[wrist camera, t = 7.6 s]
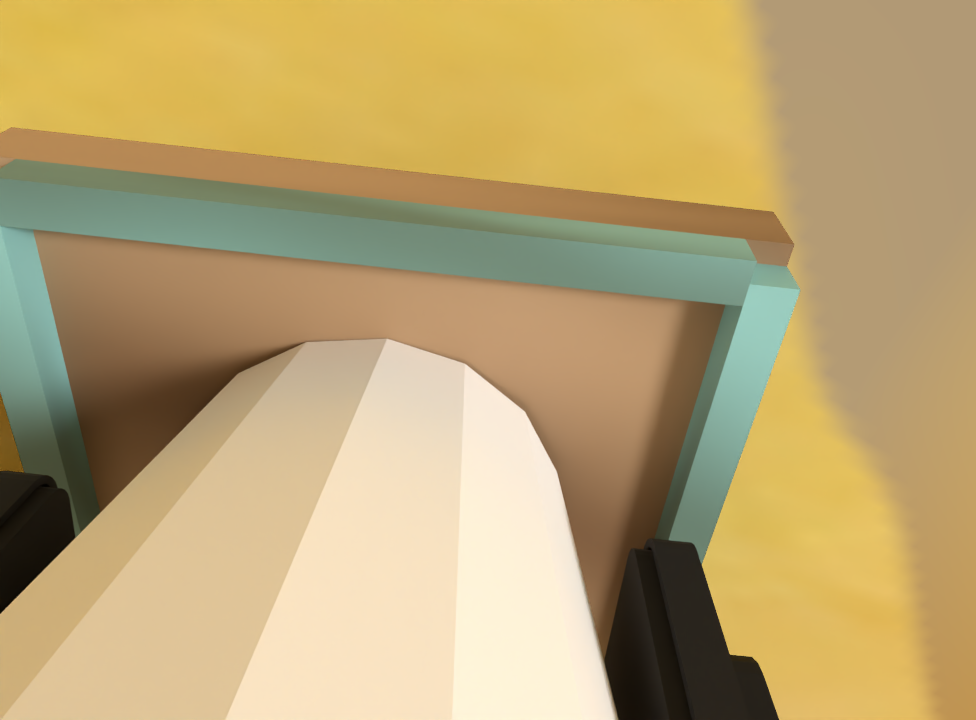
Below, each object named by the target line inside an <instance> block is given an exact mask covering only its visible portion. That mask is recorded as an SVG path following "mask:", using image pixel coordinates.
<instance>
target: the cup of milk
mask: <svg viewBox="0 0 976 720" xmlns="http://www.w3.org/2000/svg"><path fill="white" fill-rule="evenodd" d="M0 720H618V716H617V712H616V708H615V704H614V700H613V696H612V692H611V687H610V683H609V679H608V675H607V671H606V667H605V663H604V659H603V655H602V651H601V647H600V643H599V639H598V635H597V631H596V627H595V623H594V619H593V615H592V611H591V607H590V603H589V599H588V595H587V591H586V587H585V583H584V579H583V575H582V571H581V567H580V563H579V559H578V555H577V551H576V547H575V543H574V539H573V535H572V531H571V527H570V523H569V519H568V514H567V510H566V506H565V502H564V498H563V494H562V490H561V486H560V482H559V478H558V474H557V471H556V469H555V467H554V465H553V464H552V462H551V460H550V458H549V456H548V454H547V452H546V450H545V449H544V447H543V445H542V443H541V441H540V439H539V437H538V435H537V433H536V432H535V430H534V428H533V426H532V424H531V422H530V420H529V418H528V417H527V415H526V413H525V411H524V410H522V409H521V408H520V407H519V406H517V405H516V404H515V403H514V402H512V401H511V400H510V399H509V398H507V397H506V396H505V395H504V394H502V393H501V392H500V391H499V390H497V389H496V388H495V387H494V386H492V385H491V384H490V383H489V382H487V381H486V380H485V379H484V378H482V377H481V376H480V375H479V374H477V373H476V372H475V371H474V370H472V369H471V368H470V367H469V366H467V365H466V364H465V363H461V362H458V361H455V360H452V359H449V358H446V357H443V356H440V355H437V354H434V353H430V352H427V351H424V350H421V349H418V348H415V347H412V346H409V345H406V344H403V343H399V342H396V341H393V340H390V339H366V340H343V341H320V342H305V343H303V344H301V345H299V346H297V347H295V348H292V349H290V350H288V351H286V352H284V353H281V354H279V355H277V356H275V357H273V358H270V359H268V360H266V361H264V362H262V363H260V364H257V365H255V366H253V367H251V368H249V369H246V370H244V371H242V372H240V373H238V374H237V375H236V376H235V377H234V378H233V379H232V380H231V381H230V382H229V383H228V384H227V385H226V386H225V387H224V388H223V389H222V390H221V391H220V392H219V393H218V394H217V395H216V396H215V397H214V398H213V399H212V400H211V401H210V402H209V403H208V404H207V405H206V407H205V408H204V409H203V410H202V411H201V412H200V413H199V414H198V415H197V416H196V417H195V418H194V419H193V420H192V421H191V422H190V423H189V424H188V425H187V426H186V427H185V428H184V429H183V430H182V431H181V432H180V433H179V434H178V435H177V436H176V437H175V438H174V439H173V440H172V441H171V442H170V443H169V444H168V445H167V446H166V447H165V448H164V449H163V450H162V451H161V452H160V453H159V454H158V455H157V456H156V457H155V458H154V459H153V460H152V461H151V462H150V463H149V464H148V465H147V466H146V467H145V468H144V469H143V470H142V471H141V472H140V473H139V474H138V475H137V476H136V477H135V478H134V479H133V480H132V481H131V482H130V483H129V484H128V485H127V486H126V487H125V488H124V489H123V490H122V491H121V492H120V493H119V494H118V495H117V496H116V498H115V499H114V500H113V501H112V502H111V503H110V504H109V505H108V506H107V507H106V508H105V509H104V510H103V511H102V512H101V513H100V514H99V515H98V516H97V517H96V518H95V519H94V520H93V521H92V522H91V523H90V524H89V525H88V526H87V527H86V528H85V529H84V530H83V531H82V532H81V533H80V534H79V535H78V536H77V537H76V538H75V539H74V540H73V541H72V542H71V543H70V544H69V545H68V546H67V547H66V548H65V549H64V550H63V551H62V552H61V553H60V554H59V555H58V556H57V557H56V558H55V559H54V560H53V561H52V562H51V563H50V564H49V565H48V566H47V567H46V568H45V569H44V570H43V571H42V572H41V573H40V574H39V575H38V576H37V577H36V578H35V579H34V580H33V581H32V582H31V583H30V584H29V585H28V586H27V587H26V589H25V590H24V591H23V592H22V593H21V594H20V595H19V596H18V597H17V598H16V599H15V600H14V601H13V602H12V603H11V604H10V605H9V606H8V607H7V608H6V609H5V610H4V611H3V612H2V613H1V614H0Z"/></svg>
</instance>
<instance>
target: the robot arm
mask: <svg viewBox="0 0 976 720" xmlns="http://www.w3.org/2000/svg"><path fill="white" fill-rule="evenodd" d="M74 539H75V531H74V524H73V518H72V511H71V505H70V499H69V495H68V493H67V491H66V490H65V489H62V488H57V484H56V482H55V480H54V479H53V478H52V477H51V476H48V475H41V474H32V473H22V472H13V471H0V614H1V613H2V612H3V611H4V610H5V609H6V608H7V607H8V606H9V605H10V604H11V603H12V602H13V601H14V600H15V599H16V598H17V597H18V596H19V595H20V594H21V593H22V592H23V591H24V590H25V589H26V587H27V586H28V585H29V584H30V583H31V582H32V581H33V580H34V579H35V578H36V577H37V576H38V575H39V574H40V573H41V572H42V571H43V570H44V569H45V568H46V567H47V566H48V565H49V564H50V563H51V562H52V561H53V560H54V559H55V558H56V557H57V556H58V555H59V554H60V553H61V552H62V551H63V550H64V549H65V548H66V547H67V546H68V545H69V544H70V543H71V542H72V541H73V540H74ZM604 663H605V667H606V671H607V675H608V679H609V683H610V687H611V692H612V696H613V700H614V704H615V708H616V712H617V716H618V720H779V718H778V715H777V712H776V710H775V707H774V704H773V701H772V698H771V695H770V693H769V690H768V687H767V684H766V681H765V678H764V676H763V673H762V671H761V669H760V667H759V665H758V663H757V662H756V661H755V660H754V659H753V658H752V657H746V656H736V655H730V654H729V651H728V648H727V645H726V642H725V638H724V635H723V632H722V629H721V626H720V622H719V619H718V616H717V613H716V610H715V606H714V603H713V600H712V597H711V594H710V590H709V587H708V584H707V581H706V578H705V574H704V571H703V568H702V565H701V562H700V559H699V555H698V552H697V549H696V547H695V545H694V544H693V543H690V542H681V541H671V540H662V539H652V538H649V539H647V541H646V543H645V546H644V549H637V548H632V549H631V550H630V552H629V555H628V558H627V563H626V567H625V571H624V576H623V580H622V585H621V589H620V593H619V598H618V602H617V606H616V611H615V615H614V620H613V624H612V628H611V633H610V637H609V642H608V646H607V650H606V655H605V659H604Z"/></svg>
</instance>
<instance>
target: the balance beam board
mask: <svg viewBox="0 0 976 720" xmlns="http://www.w3.org/2000/svg"><path fill="white" fill-rule="evenodd" d="M793 247H794V243H793V242H792V240H791V239H790V237H789V235H788V234H787V232H786V231H785V229H784V228H783V226H782V225H781V223H780V221H779V220H778V218H777V217H776V215H775V214H774V212H770V211H761V210H752V209H743V208H734V207H725V206H716V205H707V204H698V203H689V202H680V201H671V200H662V199H653V198H644V197H635V196H626V195H617V194H608V193H599V192H590V191H581V190H572V189H563V188H554V187H545V186H536V185H527V184H517V183H508V182H499V181H490V180H481V179H472V178H463V177H454V176H445V175H436V174H427V173H418V172H409V171H400V170H391V169H382V168H373V167H364V166H355V165H346V164H337V163H328V162H319V161H310V160H301V159H292V158H283V157H274V156H265V155H256V154H247V153H238V152H229V151H220V150H210V149H201V148H192V147H183V146H174V145H165V144H156V143H147V142H138V141H129V140H120V139H111V138H102V137H93V136H84V135H75V134H66V133H57V132H48V131H39V130H30V129H21V128H12V127H11V128H9V129H7V130H6V131H4V132H2V133H0V393H1V396H2V399H3V403H4V406H5V409H6V413H7V416H8V419H9V423H10V426H11V429H12V433H13V436H14V439H15V443H16V446H17V449H18V453H19V456H20V459H21V463H22V466H23V469H24V473H32V474H41V475H48V476H51V477H52V478H53V479H54V480H55V482H56V484H57V488H62V489H65V490H66V491H67V493H68V495H69V499H70V505H71V511H72V518H73V524H74V531H75V538H76V537H77V536H78V535H79V534H80V533H81V532H82V531H83V530H84V529H85V528H86V527H87V526H88V525H89V524H90V523H91V522H92V521H93V520H94V519H95V518H96V517H97V516H98V515H99V514H100V513H101V512H102V511H103V510H104V509H105V508H106V507H107V506H108V505H109V504H110V503H111V502H112V501H113V500H114V499H115V498H116V496H117V495H118V494H119V493H120V492H121V491H122V490H123V489H124V488H125V487H126V486H127V485H128V484H129V483H130V482H131V481H132V480H133V479H134V478H135V477H136V476H137V475H138V474H139V473H140V472H141V471H142V470H143V469H144V468H145V467H146V466H147V465H148V464H149V463H150V462H151V461H152V460H153V459H154V458H155V457H156V456H157V455H158V454H159V453H160V452H161V451H162V450H163V449H164V448H165V447H166V446H167V445H168V444H169V443H170V442H171V441H172V440H173V439H174V438H175V437H176V436H177V435H178V434H179V433H180V432H181V431H182V430H183V429H184V428H185V427H186V426H187V425H188V424H189V423H190V422H191V421H192V420H193V419H194V418H195V417H196V416H197V415H198V414H199V413H200V412H201V411H202V410H203V409H204V408H205V407H206V405H207V404H208V403H209V402H210V401H211V400H212V399H213V398H214V397H215V396H216V395H217V394H218V393H219V392H220V391H221V390H222V389H223V388H224V387H225V386H226V385H227V384H228V383H229V382H230V381H231V380H232V379H233V378H234V377H235V376H236V375H237V374H238V373H240V372H242V371H244V370H246V369H249V368H251V367H253V366H255V365H257V364H260V363H262V362H264V361H266V360H268V359H270V358H273V357H275V356H277V355H279V354H281V353H284V352H286V351H288V350H290V349H292V348H295V347H297V346H299V345H301V344H303V343H305V342H320V341H343V340H366V339H390V340H393V341H396V342H399V343H403V344H406V345H409V346H412V347H415V348H418V349H421V350H424V351H427V352H430V353H434V354H437V355H440V356H443V357H446V358H449V359H452V360H455V361H458V362H461V363H465V364H466V365H467V366H469V367H470V368H471V369H472V370H474V371H475V372H476V373H477V374H479V375H480V376H481V377H482V378H484V379H485V380H486V381H487V382H489V383H490V384H491V385H492V386H494V387H495V388H496V389H497V390H499V391H500V392H501V393H502V394H504V395H505V396H506V397H507V398H509V399H510V400H511V401H512V402H514V403H515V404H516V405H517V406H519V407H520V408H521V409H522V410H524V411H525V413H526V415H527V417H528V418H529V420H530V422H531V424H532V426H533V428H534V430H535V432H536V433H537V435H538V437H539V439H540V441H541V443H542V445H543V447H544V449H545V450H546V452H547V454H548V456H549V458H550V460H551V462H552V464H553V465H554V467H555V469H556V471H557V474H558V478H559V482H560V486H561V490H562V494H563V498H564V502H565V506H566V510H567V514H568V519H569V523H570V527H571V531H572V535H573V539H574V543H575V547H576V551H577V555H578V559H579V563H580V567H581V571H582V575H583V579H584V583H585V587H586V591H587V595H588V599H589V603H590V607H591V611H592V615H593V619H594V623H595V627H596V631H597V635H598V639H599V643H600V647H601V651H602V655H603V659H605V655H606V650H607V646H608V642H609V637H610V633H611V628H612V624H613V620H614V615H615V611H616V606H617V602H618V598H619V593H620V589H621V585H622V580H623V576H624V571H625V567H626V563H627V558H628V555H629V552H630V550H631V549H632V548H637V549H644V546H645V543H646V541H647V539H649V538H652V539H662V540H671V541H681V542H690V543H693V544H694V545H695V547H696V549H697V552H698V555H699V559H700V562H701V565H702V562H703V559H704V557H705V554H706V551H707V548H708V546H709V543H710V540H711V537H712V534H713V532H714V529H715V526H716V523H717V520H718V518H719V515H720V512H721V509H722V507H723V504H724V501H725V498H726V495H727V493H728V490H729V487H730V484H731V482H732V479H733V476H734V473H735V470H736V468H737V465H738V462H739V459H740V457H741V454H742V451H743V448H744V445H745V443H746V440H747V437H748V434H749V432H750V429H751V426H752V423H753V420H754V418H755V415H756V412H757V409H758V407H759V404H760V401H761V398H762V395H763V393H764V390H765V387H766V384H767V382H768V379H769V376H770V373H771V370H772V368H773V365H774V362H775V359H776V357H777V354H778V351H779V348H780V345H781V343H782V340H783V337H784V334H785V332H786V329H787V326H788V323H789V320H790V318H791V315H792V312H793V309H794V307H795V304H796V301H797V298H798V295H799V293H800V288H799V286H798V285H797V283H796V281H795V280H794V278H793V276H792V275H791V273H790V271H789V270H788V268H787V264H788V262H789V259H790V256H791V253H792V250H793Z"/></svg>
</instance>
